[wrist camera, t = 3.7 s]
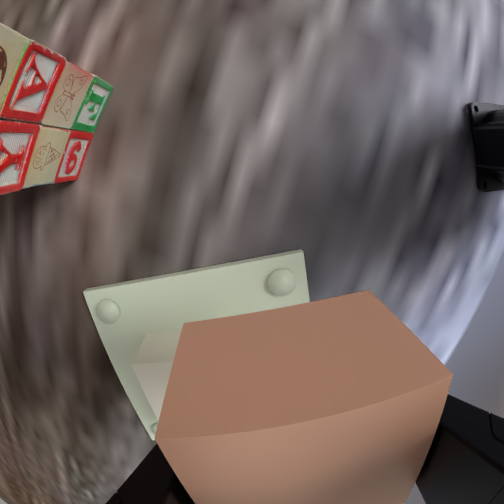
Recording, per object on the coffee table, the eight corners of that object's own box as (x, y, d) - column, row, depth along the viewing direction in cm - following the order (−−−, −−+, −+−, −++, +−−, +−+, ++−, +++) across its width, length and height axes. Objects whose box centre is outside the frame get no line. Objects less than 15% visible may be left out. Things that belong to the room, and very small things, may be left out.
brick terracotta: (369, 289, 8) (452, 374, 4) (363, 416, 9) (405, 502, 6) (183, 323, 8) (154, 438, 4) (222, 443, 9) (223, 541, 5)
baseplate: (301, 249, 18) (304, 253, 17) (319, 414, 22) (321, 423, 21) (86, 288, 18) (80, 294, 18) (153, 435, 22) (151, 443, 21)
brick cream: (253, 317, 19) (257, 348, 15) (270, 398, 21) (275, 433, 17) (146, 333, 19) (131, 364, 16) (177, 410, 21) (171, 444, 17)
